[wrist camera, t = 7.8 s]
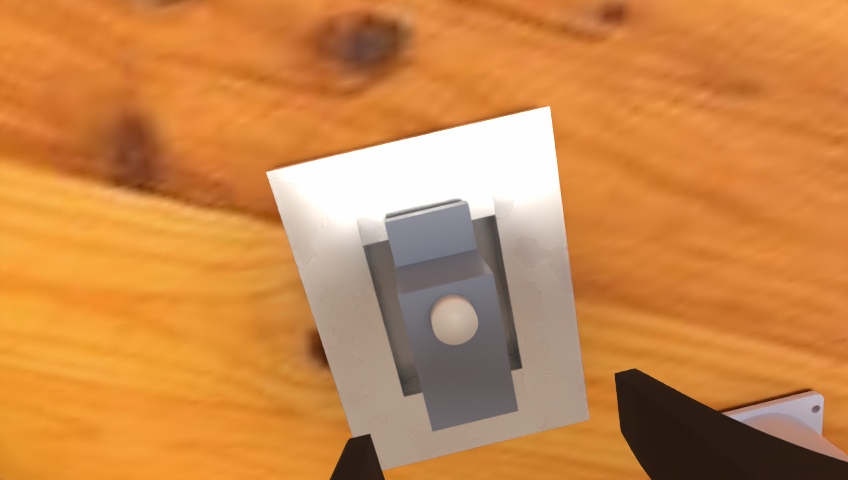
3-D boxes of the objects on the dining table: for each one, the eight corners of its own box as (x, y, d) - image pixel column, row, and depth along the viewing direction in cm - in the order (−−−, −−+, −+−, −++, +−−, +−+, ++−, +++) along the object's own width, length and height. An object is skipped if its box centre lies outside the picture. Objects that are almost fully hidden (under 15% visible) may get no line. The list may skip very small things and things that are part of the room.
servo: (493, 374, 23) (532, 466, 17) (429, 389, 23) (444, 487, 17) (458, 192, 20) (489, 225, 14) (384, 209, 20) (384, 250, 14)
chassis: (576, 400, 24) (589, 419, 23) (366, 451, 24) (365, 474, 23) (536, 107, 20) (549, 106, 18) (275, 167, 20) (266, 171, 18)
